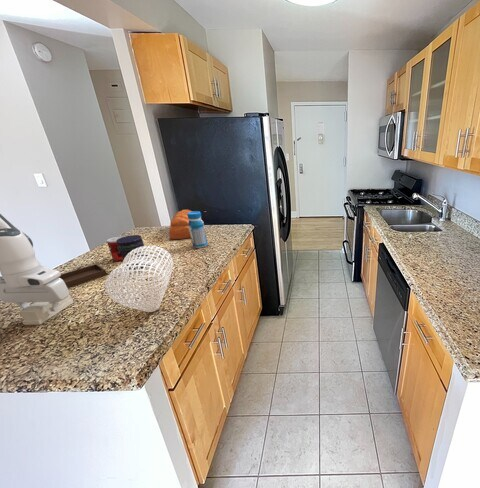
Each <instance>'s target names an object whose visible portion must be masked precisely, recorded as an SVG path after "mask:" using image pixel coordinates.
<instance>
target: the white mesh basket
mask: <svg viewBox="0 0 480 488" xmlns="http://www.w3.org/2000/svg"><path fill="white" fill-rule="evenodd" d="M144 249H145V250H144ZM137 250H138V251H137ZM141 250H142V251H141ZM135 251H136V252H135ZM132 252H134V253H132ZM139 252H141V253H139ZM142 252H143V253H142ZM135 253H137V255H135ZM138 253H139V254H138ZM132 255H133V256H132ZM139 255H140V257H137V256H139ZM141 255H144V256H142V257H141ZM145 255H147V256H145ZM131 256H132V257H131ZM135 257H136V258H135ZM128 258H129V259H128ZM130 258H131V259H130ZM137 258H139V259H137ZM144 258H146V259H144ZM133 259H135V260H133ZM128 260H129V261H130V262H129V261H128ZM124 262H125V263H124ZM135 262H136V263H135ZM143 262H145V263H143ZM148 263H149V264H148ZM128 264H129V266H127V265H128ZM132 264H134V265H132ZM136 264H139V265H136ZM142 264H143V265H142ZM144 264H145V265H144ZM146 264H147V266H146ZM131 265H132V266H131ZM148 265H149V266H148ZM129 267H131V269H130V270H129ZM132 267H133V268H132ZM136 267H138V269H137V268H136ZM141 267H144V268H143V269H141ZM145 267H146V268H145ZM134 268H135V269H136V270H133V269H134ZM139 268H140V270H139ZM173 268H174V261H173V257H172V255H171V253H170V252H169V251H168V250H166V249H164V248H163V247H161V246H157V245H144V246H142V247H139V248H136V249H134V250H132V251H131V252H129V253H128V254H127V255H126V257H125V258H124V260H123V261H122V263H121V265H119V266H117V267H115V268H114V269H113V270H112V271H111V272H110V273H109V274H107V277H106V279H105V281H104V288H105V291H106V294H107V295H108V296H109V298H110V299H112V301H114V302H115V303H117V304H119V305H121V306H123V307H126V308H129V309H134V310H139V311H142V312H147V313H153V312H156V311H157V310H159V307H160V306H161V303H162V301H163V298H164V296H165V294H166V291H167V288H168V285H169V282H170V279H171V277H172V273H173ZM126 269H127V271H126ZM150 278H151V280H150ZM146 279H147V280H146ZM156 282H157V283H156ZM146 284H147V285H146ZM135 286H136V287H135ZM149 295H150V296H149Z"/></svg>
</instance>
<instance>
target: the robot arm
mask: <svg viewBox="0 0 480 488" xmlns="http://www.w3.org/2000/svg"><path fill="white" fill-rule="evenodd" d="M61 274H62V273H61V272H60V271H59V270H57V269H52V268H50V267H46V266H43V265H42V264H41V262H40V261H39V260H38V259H37V258H36V251H35V250H34V243H33V241H32V239H31V238H30V236H29V235H27V234H26V233H25V232H23V231H21V230H20V229H18V228H17V227H15V225H13V224H12V222H10V221H9V220H8V219H7V218H6V217H4V215H3V214H1V213H0V275H1V276H0V301H1V302H3V303H15V304H16V305H17V306H18V307H20V308H21V309H22V310H24V309H25V308H27V307H29V306H31V305H32V304H30V303H36V302H49V303H50V304H52V307H50V308H49V309H50V311H51V312H56V311H58V310H59V309H60V308H59V306H58V305H59V302H60V301H62V300H64V299H66V298H67V297H68V296H70V290H69V288H67V286H66V284H65V282H64V281H63V280H62V279H61V278H58V277H60V276H61Z"/></svg>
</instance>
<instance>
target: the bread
mask: <svg viewBox="0 0 480 488" xmlns="http://www.w3.org/2000/svg"><path fill="white" fill-rule="evenodd" d="M189 212H193V211H192V210H191V209H182V210H179V211H177V212H176V213H175V214H174V216H173V218H172V219H171V221H170V224H169V225H170V226H169V227H170V228H169V233H168V234H169V235H168V236H169V238H170V239H172V240H184V239H191V235H190V231H189V226H188V223H189V219H188V215H187V213H189Z"/></svg>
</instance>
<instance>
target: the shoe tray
mask: <svg viewBox="0 0 480 488" xmlns="http://www.w3.org/2000/svg"><path fill="white" fill-rule="evenodd" d="M60 274H61V276H60V277H58V278H61V279H62V280H63V281H64V282H65V284H66V286H67V288H68V289H69V288H72V287H75V286H77V285H80V284H83V283H86V282H89V281H92V280H95V279H98V278H101V277H104V276H108V273H107V270H106V269H105V268H104V267H102V266H101V265H99V264H98V263H94V264H91V265H87V266H83V267H82V268H78V269H77V268H76V269H73V270H70V271H68V272H64V273H60Z"/></svg>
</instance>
